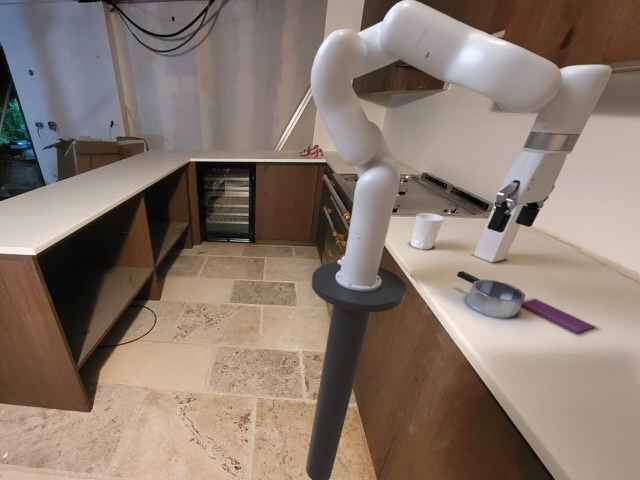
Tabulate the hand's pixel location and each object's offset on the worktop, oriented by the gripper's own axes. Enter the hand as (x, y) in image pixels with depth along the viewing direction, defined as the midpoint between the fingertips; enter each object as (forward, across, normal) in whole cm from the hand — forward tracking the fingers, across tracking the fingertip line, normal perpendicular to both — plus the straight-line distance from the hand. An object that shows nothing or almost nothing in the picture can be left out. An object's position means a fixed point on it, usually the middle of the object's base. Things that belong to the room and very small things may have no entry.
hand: (509, 227), depth 72 cm
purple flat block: (+18, -7, +13) cm, 23 cm away
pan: (+18, +2, +2) cm, 18 cm away
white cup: (+18, -14, -30) cm, 38 cm away
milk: (+18, -25, -14) cm, 34 cm away
